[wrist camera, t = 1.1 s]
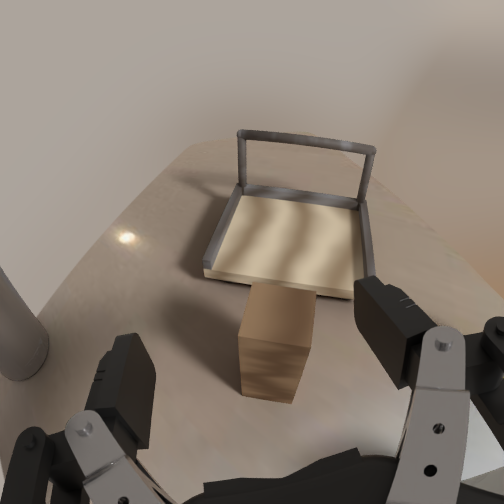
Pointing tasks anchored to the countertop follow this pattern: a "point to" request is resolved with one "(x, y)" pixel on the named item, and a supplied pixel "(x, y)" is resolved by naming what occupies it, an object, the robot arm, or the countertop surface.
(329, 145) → the cart
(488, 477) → the small box
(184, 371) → the countertop surface
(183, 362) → the countertop surface
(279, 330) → the walnut block
